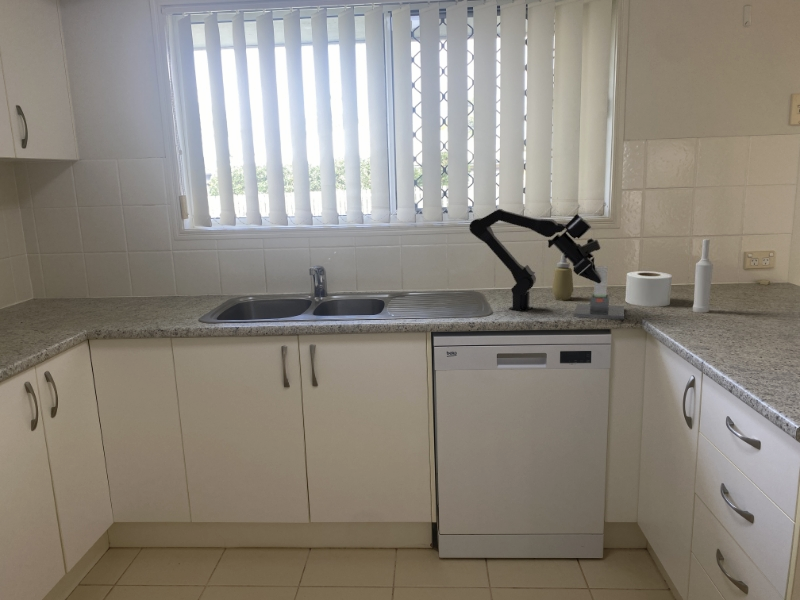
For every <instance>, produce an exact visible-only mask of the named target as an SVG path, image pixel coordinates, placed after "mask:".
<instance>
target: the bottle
mask: <svg viewBox="0 0 800 600" xmlns="http://www.w3.org/2000/svg"><path fill="white" fill-rule="evenodd" d="M701 250H702V251H701V258H700V260H699V261H698V262H696V263H695V272H694V273H695V275H694V276H695V277H694V295H693V296H694V297H693V305H692V311H693V312H695V313H700V314H701V313H702V314H704V313H706V314H707V313H709V311H710V297H711V296H710V295H711V288H712V287H711V285H712V277H713V269H714V268H713V266H714V265H713V263H712V262H711V261H710V259H709V252H710V238H704V239H702V249H701Z"/></svg>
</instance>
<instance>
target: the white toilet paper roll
mask: <svg viewBox="0 0 800 600" xmlns="http://www.w3.org/2000/svg"><path fill="white" fill-rule="evenodd" d="M672 278H673V277H672V274H669V273H665V272H660V271H651V270H650V271H647V270H646V271H645V270H644V271H643V270H641V271H631V272H630V271H629V272H628V273H626V284H625V302H626V303H627V304H629V305H633V306H638V307H651V308H654V307H657V308H659V307H665V306H670V303H671V292H672V290H671V289H672Z"/></svg>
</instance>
